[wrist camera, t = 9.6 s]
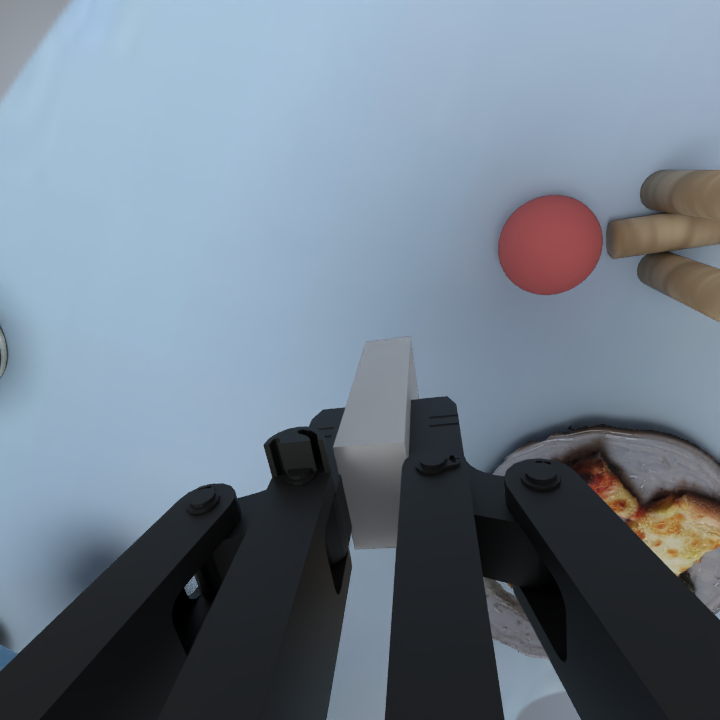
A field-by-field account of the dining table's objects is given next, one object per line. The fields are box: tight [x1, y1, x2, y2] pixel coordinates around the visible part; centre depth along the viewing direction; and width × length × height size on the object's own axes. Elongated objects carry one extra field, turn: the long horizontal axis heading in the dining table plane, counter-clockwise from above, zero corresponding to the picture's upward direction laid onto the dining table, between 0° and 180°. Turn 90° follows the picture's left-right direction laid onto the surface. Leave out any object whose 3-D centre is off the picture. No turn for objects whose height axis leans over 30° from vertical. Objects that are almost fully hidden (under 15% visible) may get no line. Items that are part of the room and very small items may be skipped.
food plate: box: [483, 424, 720, 659], centre depth 40 cm, size 25×23×4 cm
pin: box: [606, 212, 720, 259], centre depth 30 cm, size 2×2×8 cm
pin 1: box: [640, 170, 720, 221], centre depth 26 cm, size 2×2×8 cm
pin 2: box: [637, 251, 720, 322], centre depth 28 cm, size 2×2×8 cm
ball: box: [498, 195, 603, 295], centre depth 30 cm, size 6×6×6 cm
